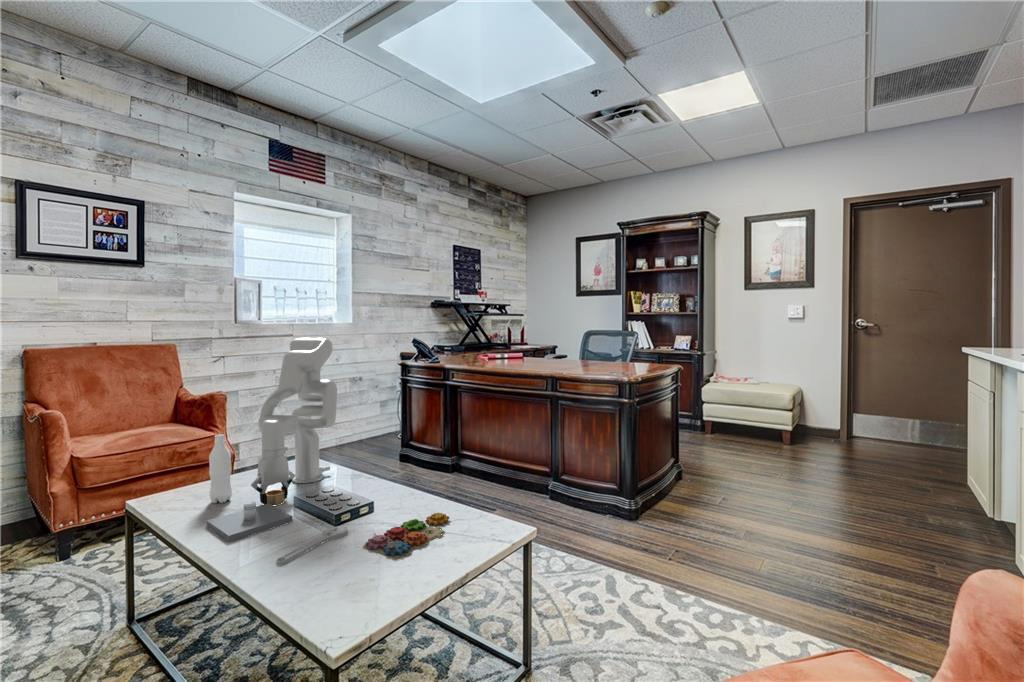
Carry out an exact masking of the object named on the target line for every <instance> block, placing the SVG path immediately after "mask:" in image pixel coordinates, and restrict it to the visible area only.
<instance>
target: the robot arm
mask: <svg viewBox="0 0 1024 682" xmlns="http://www.w3.org/2000/svg"><path fill="white" fill-rule="evenodd" d="M289 349H290V351H287V352H286V353H285V354H284V356H283V358H282V365H281V371H280V374H279V379H278V380H279V382H278V386H277V387H276V389H275V390H274V391H273V392H271V394H270V395H269V396H268V397H267V398H266V400H265V401H264V403H263V404H262V406H261V410H260V414H259V421H258V428H259V431H260V433H261V457H260V458H259V459H258V465H257V474H256V475H257V476H256V478H255V480H253V482H252V483H251V484H250V487H251V488H252V489H254V490H255V491H257V492H258V493H259V500H260V503H261V504H262V505H263V504H267V494H266V493H265V492H266V491H267V489H268V487H269V486H273V485H277V484H280V483H281V485H282V486H280V487H281V488H280V489H282V490H284V491H285V500H286V499H288V494H289V490H288V488H290V485H291V483H295V484H310V483H316V482H318V481H321V480H322V479H324V474H323V473H324V472H327V471H330V470H331V466H330V465H326V466H324V465H322V466H321V465H320V437H319V434H318V432H317V430H316V429H330V428H332V427H333V425H335V423H336V417H337V407H338V406H337V404H338V403H337V402H338V388H337V387H338V386H337V384H336V382H335V381H334V380H332V379H321V369H322V367H324V364H325V363H326V362H327V361H328V360H329V358H330V357H331V355H332V354H333V353H332V352H333V343H332V341H331V340H330V339H328V338H324V337H299V338H298V337H297V338H294V339H291V341H290V342H289ZM294 395H297V397H298V399H299V400H300V401H302V402H307V403H322V404H302V405H298V406H296V407H295V408H294V409H293V410H292V413H291V415H290V414H289V415H288V414H274V411H275V409H276V407H277V406H278V405H279V404H280V403H281V402H283V401H284V400H286V399H288V398H290V397H292V396H294ZM293 435H294V458H295V459H294V466H295V467H294V468H295V470H294V471H295V473H293V471H291V470H290V467H289V461H288V457H287V454H286V452H288V451H289V448H288V447H285V437H287V436H293ZM258 485H260V486H258Z"/></svg>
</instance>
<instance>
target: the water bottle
mask: <svg viewBox="0 0 1024 682" xmlns="http://www.w3.org/2000/svg"><path fill="white" fill-rule="evenodd" d="M225 439H226V438H225V434H224V433H222V434H221V433H220V434H219V433H218V434H215V435H214V445H213V447H212V449H211V451H210V453H209V456H208V461H209V462H208V463H209V471H208V474H209V478H210V489H209V499H210V501H211V503H212V504H217V503H218V502H219V503H220V504H223V502H224V503H226V502H228V501H227V500H229V501H230V500H231V499H232V495H233V494H232V493H233V488H232V485H231V474H232V464H231V463H232V460H231V459H232V454H231V451H230V449H229V448H228V447H227V445H226V440H225Z"/></svg>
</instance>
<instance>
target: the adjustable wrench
mask: <svg viewBox="0 0 1024 682" xmlns="http://www.w3.org/2000/svg"><path fill="white" fill-rule="evenodd" d="M348 532H349V531H348V527H346V526H345V527H344V528H343V529H341V530H338V527H337V526H334V527H330V528H327V529H326V530H323V532H322V535H321V536H319V537H317V538H315V539H313V540H311V541H309V542H307V543H305V544H303V545H302V546H299V547H298V548H296V549H294V550H292V551H289V552H287V553H286V554H284V555H281V556H279V557H278V558H276V563H277V564H282V565H285V564H287V563H288V561H289V562H290V560H291V559H292V560H294V559H296V558H298V557H300V556H301V555H300V554H302V553H304V552H306V551H307V550H309V549H311V548H313V547H315V546H317V545H319V544H320V545H322V544H323V543H322V542H324V541H326V542H328V541H327V540H329V541H332V540H335V539H338V538H342V537H345V536H347V535H348ZM331 539H332V540H331ZM321 543H322V544H321ZM324 543H325V542H324ZM320 545H319V546H320ZM317 547H318V546H317ZM315 548H316V547H315ZM313 549H314V548H313ZM311 550H312V549H311ZM309 551H310V550H309ZM307 552H308V551H307ZM307 552H306V553H307ZM304 554H305V553H304ZM299 555H300V556H299ZM302 555H303V554H302ZM297 556H298V557H297ZM295 557H296V558H295ZM293 558H294V559H293ZM292 560H291V561H292ZM286 562H287V563H286ZM284 563H285V564H284ZM277 564H276V565H277Z"/></svg>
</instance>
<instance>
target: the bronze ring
mask: <svg viewBox="0 0 1024 682" xmlns="http://www.w3.org/2000/svg"><path fill="white" fill-rule="evenodd" d="M265 493H266V494H267V504H270V505H272V506H273V505H278V504H281V503H283V502H284V501H285V502H286V499H285V491H284V490H282V489H281V488H279V489H277V488H275V489H270V490H266V492H265ZM285 502H284V503H285ZM284 503H283V504H284ZM281 505H282V504H281ZM278 506H279V505H278Z"/></svg>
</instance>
